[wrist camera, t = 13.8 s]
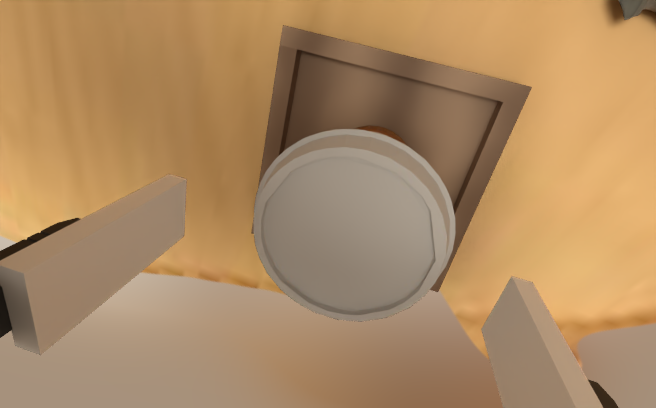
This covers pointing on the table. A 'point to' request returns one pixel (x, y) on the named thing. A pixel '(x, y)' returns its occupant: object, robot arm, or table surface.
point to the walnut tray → (395, 110)
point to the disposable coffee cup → (353, 223)
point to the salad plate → (636, 7)
